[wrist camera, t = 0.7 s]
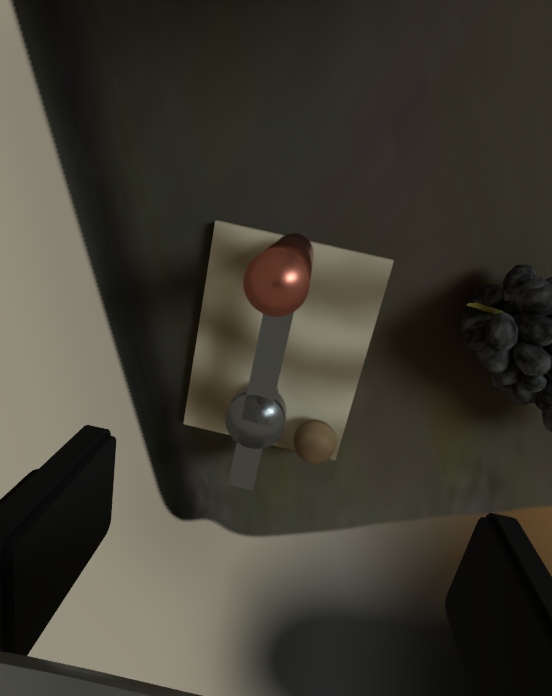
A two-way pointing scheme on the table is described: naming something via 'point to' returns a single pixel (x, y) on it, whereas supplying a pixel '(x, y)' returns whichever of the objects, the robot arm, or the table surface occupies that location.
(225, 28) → the table surface
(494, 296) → the fruit
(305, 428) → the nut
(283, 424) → the lever
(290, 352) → the board
